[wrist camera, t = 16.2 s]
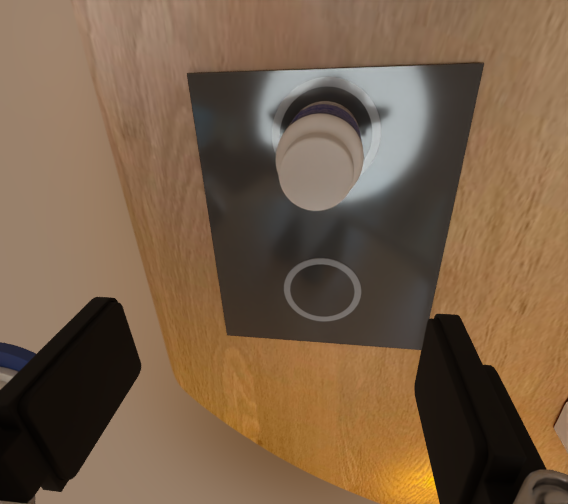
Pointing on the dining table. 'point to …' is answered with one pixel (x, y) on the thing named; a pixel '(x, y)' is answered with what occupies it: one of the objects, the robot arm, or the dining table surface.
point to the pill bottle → (320, 156)
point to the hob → (344, 216)
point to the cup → (563, 426)
